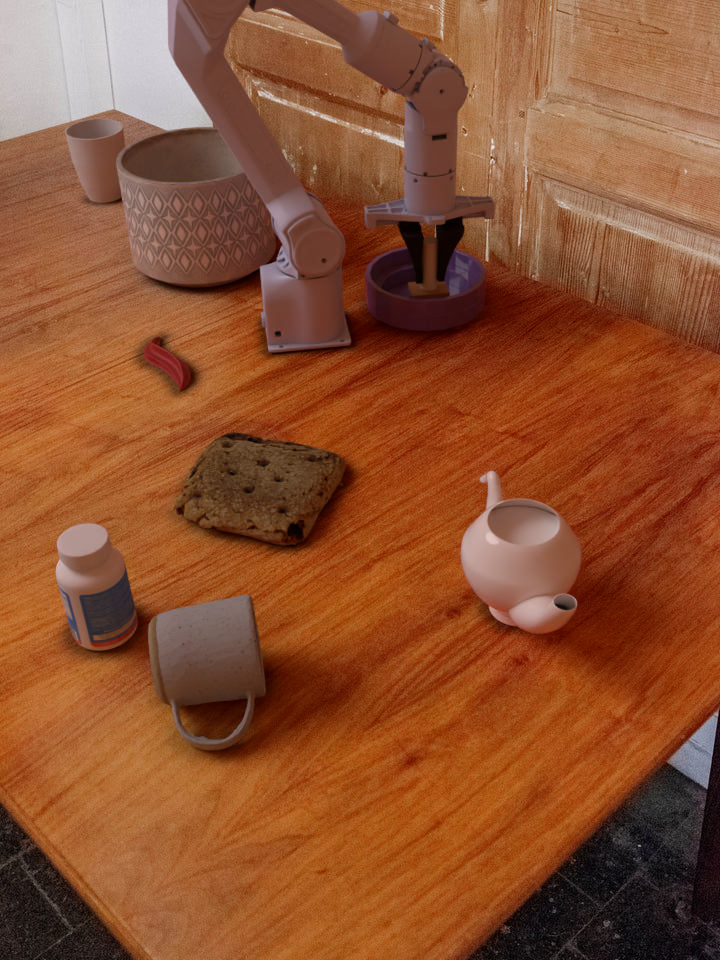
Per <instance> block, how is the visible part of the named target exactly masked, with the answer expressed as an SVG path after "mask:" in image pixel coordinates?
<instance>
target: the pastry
mask: <svg viewBox="0 0 720 960" xmlns="http://www.w3.org/2000/svg"><path fill="white" fill-rule="evenodd" d="M345 471H346V462H345V461H344V460H343V459H342V458H341V456H340V455H339V454H337V453H336V452H332V451H331V450H328V449H322V448H318V447H316V446H311V445H307V444H303V443H298V442H294V441H286V440H277V439H270V438H266V439H264V438H263V437H259V436H254V435H252V434H250V433H244V432H234V431H233V432H227V433H225V434H222V435H221V436H219V437H217V438H215V439H214V440H213V441H212V442H210V443H209V444H208V445H207V446H205V448H204V449H203V450H202V452H201V453H200V455H199V456H198V458H197V459H196V460H195V462H194V463H193V465H192V467H191V468H190V469H189V472H188V474H187V475H186V477H185V478H186V479H185V481H184V483H183V488H184V490H183V489H180V492H181V494H180V495H179V496H178V497H177V498H176V499H175V503H174V507H173V510H175V512H176V513H175V514H176V515H178V516H183V517H184V519H187V520H189V521H193V522H195V523H197V524H198V525H199V526H200V527H201V528H206V529H212V528H213V527H214V528H215V529H216V530H219V531H223V532H225V533H232V534H235V535H242V536H245V537H250V538H254V539H255V540H260V541H262V542H265V543H270V544H274V545H276V546H277V545H278V546H285V547H286V546H289V545H293V546H296V545H297V544H298V543H301V542H303V541H305V540H306V539H307V538H308V536H309V534H310V533H311V530H312V529H313V527H314V525H315V524H316V521H317V519H318V517H319V515H320V513H321V511H322V510H323V509H324V508H325V506H326V505H327V504H328V501H329V500H330V499H332V495H333V493H334V492H335V491H336V489H337V487H340V486H344V484H343V483H342V482H341V481H342V478H343V475H344V473H345Z"/></svg>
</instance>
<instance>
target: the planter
mask: <svg viewBox="0 0 720 960" xmlns="http://www.w3.org/2000/svg"><path fill="white" fill-rule="evenodd" d="M116 165H117V171H118V177H119V183H120V189H121V195H122V197H121V200H122V206H123V211H124V219H125V224H126V230H127V235H128V241H129V242H128V243H129V247H130V254H131V259H132V263H133V265H134V266H135V268H136V269H137V270H138V271H139V272H141V273H142V274H143V275H145V276H147V277H149V278H151V279H154V280H158V281H161V282H163V283H165V284H168V285H172V286H177V287H183V288H208V287H218V286H222V285H227V284H231V283H234V282H237V281H239V280H241V279H243V278H246V277H248V276H249V275H251V274H252V273H254V272H256V271H258V270H260V266H263V265H267V264H268V262H269V261H271V259H273V256H274V255H275V253H276V249H277V248H276V247H277V242H276V233H275V232H274V230H273V227H272V221H271V213H270V212H269V210H268V208H267V207H266V205H265V203H264V202H263V200H262V199H261V197H260V196H259V194H258V193H257V191H256V189H255V188H254V186H253V185H252V183H251V182H250V180H249V178H248V177H247V175H246V174H245V172H244V171H243V169H242V168H241V166H240V164H239V163H238V161H237V160H236V158H235V157H234V155H233V153H232V152H231V150H230V149H229V147H228V146H227V144H226V143H225V141H224V139H223V138H222V136H221V135H220V133H219V132H218V130H217V128H216V127H215V126H196V127H195V126H193V127H184V128H183V127H182V128H176V129H169V130H165V131H160V132H156V133H153V134H150V135H147V136H144V137H141V138H139V139H137V140H134V141H133V142H130V143H129V144H128V145H125V148H124V149H123V150H122V151H121V152H120V153H119V154H118V157H117V159H116Z"/></svg>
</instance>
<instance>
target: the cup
mask: <svg viewBox="0 0 720 960" xmlns="http://www.w3.org/2000/svg"><path fill="white" fill-rule="evenodd" d="M64 135H65V138H66V143H67V147H68V150H69V154H70V158H71V161H72V164H73V167H74V169H75V173H76V175H77V177H78V180H79V183H80V185H81V186H82V189H83V190H84V192H85V194H86V196H87V199H89V201H91V202H93V203H97V204H107V203H112V202H116V201H118V200H120V199H122V195H121V189H120V183H119V177H118V171H117V165H116V159H117V157H118V154H119V153H120V152H121V151H122V150H123V149H124V148H125V147H126V142H125V132H124V125H123V123H122V122H120V121H119V120H116V119H111V118H91V119H85V120H79V121H77V122H75V123H72V124H70V125H69V126H67V127H66V128H65V130H64Z"/></svg>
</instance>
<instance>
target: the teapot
mask: <svg viewBox="0 0 720 960" xmlns="http://www.w3.org/2000/svg"><path fill="white" fill-rule="evenodd" d="M479 482H480V483H482V484H485V485H487V497H486V504H485V510H483V511H482V513H481V514H480V515H478V516H477V517H476V519H474V521H473V522H471V524H470V525H468V527H467V528H466V530H465V531H464V534H463V536H462V539H461V543H460V563H461V569H462V572H463V574H464V575H463V576H464V577H465V580H466V582H467V583H468V585H469V586H470V588H471V590H472V591H473V593H475V595H476V596H477V597H478V598H479V600H481V601H482V602H483V603H484V604H486V605H487V606H488V609H489V612H490V614H491V615H492V616H493V617H494V618H495V620H496V621H499V622H500V623H502V624H504V625H507V626H512V627H518V628H519V629H520V630H522V631H525V632H527V633H530V634H535V635H543V634H549V633H553V632H555V631H558V630H560V629H561V628H563V627H564V626H565V625H567V623H568V622H569V621H570V620H571V619H572V617H573V615H574V614H575V613H576V611H577V609H578V601H577V599H576V598H575V596H573V595H571V594H569V592H570V590H571V589H572V588H573V586H574V585H575V583H576V580H577V578H578V577H579V573H580V570H581V566H582V565H581V564H582V555H583V554H582V546H581V543H580V541H579V538H578V536H577V534H576V533H575V531H574V530H573V529H572V527H571V525H570V524H569V522H567V520H566V518H564V516H563V515H562V514H561V513H560V512H559V511H557V510H556V509H555V508H554V507H552V506H550V505H549V504H546V503H544V502H542V501H539V500H535V499H531V498H522V497H521V498H509V499H504V495H503V490H502V482H501V478H500V475H499V473H498V472H497V471H495V470H489V471H487V472H486V473H484V474H483V475H481V476H480V477H479Z"/></svg>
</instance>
